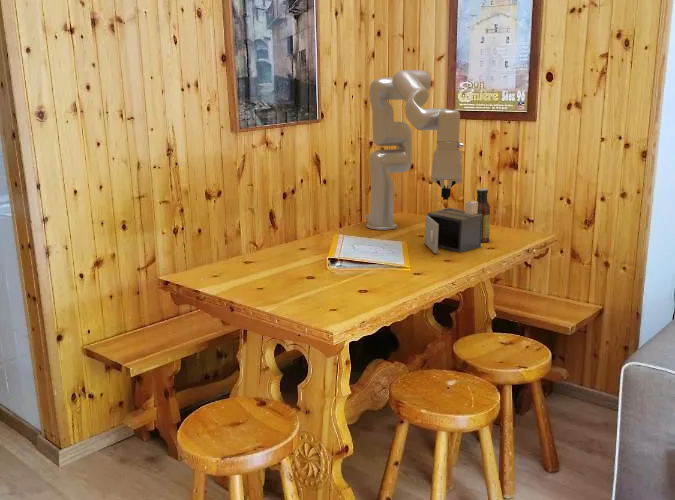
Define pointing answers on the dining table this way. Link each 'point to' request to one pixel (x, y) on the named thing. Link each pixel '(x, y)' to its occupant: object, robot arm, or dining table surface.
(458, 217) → the dark grey box
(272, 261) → the dining table surface
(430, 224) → the door
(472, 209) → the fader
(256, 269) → the dining table surface
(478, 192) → the sauce bottle
